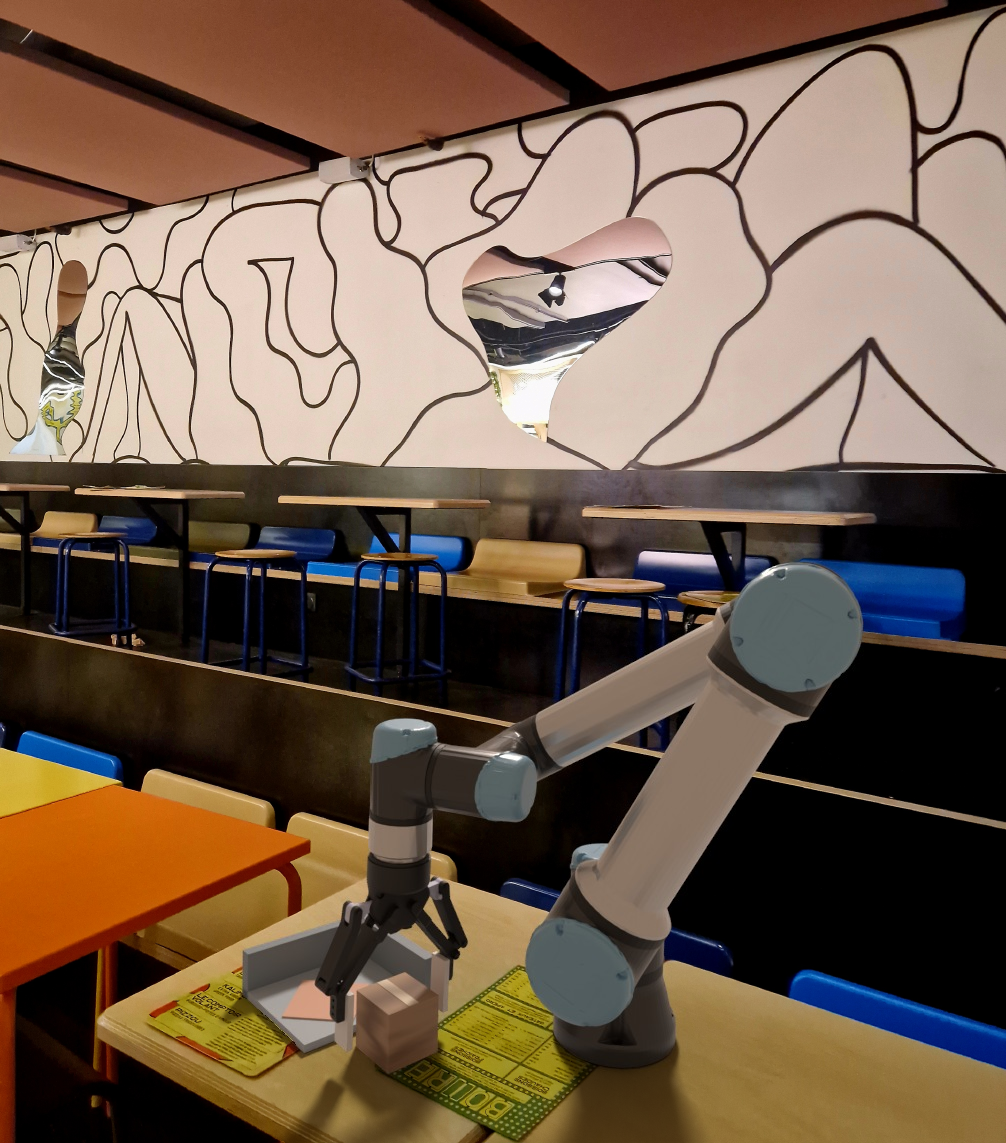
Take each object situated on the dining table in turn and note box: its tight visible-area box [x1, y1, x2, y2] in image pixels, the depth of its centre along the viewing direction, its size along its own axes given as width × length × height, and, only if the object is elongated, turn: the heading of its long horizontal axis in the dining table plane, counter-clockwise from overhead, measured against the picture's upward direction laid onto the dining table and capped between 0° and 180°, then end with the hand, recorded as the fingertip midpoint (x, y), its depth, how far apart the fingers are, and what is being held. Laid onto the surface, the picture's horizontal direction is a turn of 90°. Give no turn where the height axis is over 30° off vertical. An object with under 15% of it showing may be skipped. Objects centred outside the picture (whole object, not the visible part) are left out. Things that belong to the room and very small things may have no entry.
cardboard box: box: [355, 972, 439, 1075], centre depth 106 cm, size 7×7×7 cm
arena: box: [241, 914, 432, 1054], centre depth 117 cm, size 17×19×6 cm
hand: (392, 1025), depth 106 cm, fingers open, 13 cm apart
